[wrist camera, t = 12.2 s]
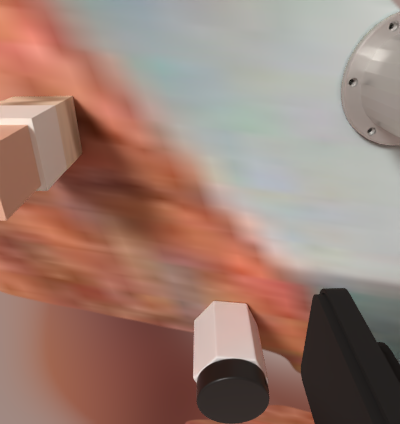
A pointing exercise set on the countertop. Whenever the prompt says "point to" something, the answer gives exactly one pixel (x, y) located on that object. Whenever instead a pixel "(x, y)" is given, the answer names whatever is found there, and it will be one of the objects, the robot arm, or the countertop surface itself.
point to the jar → (229, 364)
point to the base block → (65, 121)
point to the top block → (16, 168)
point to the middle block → (40, 138)
